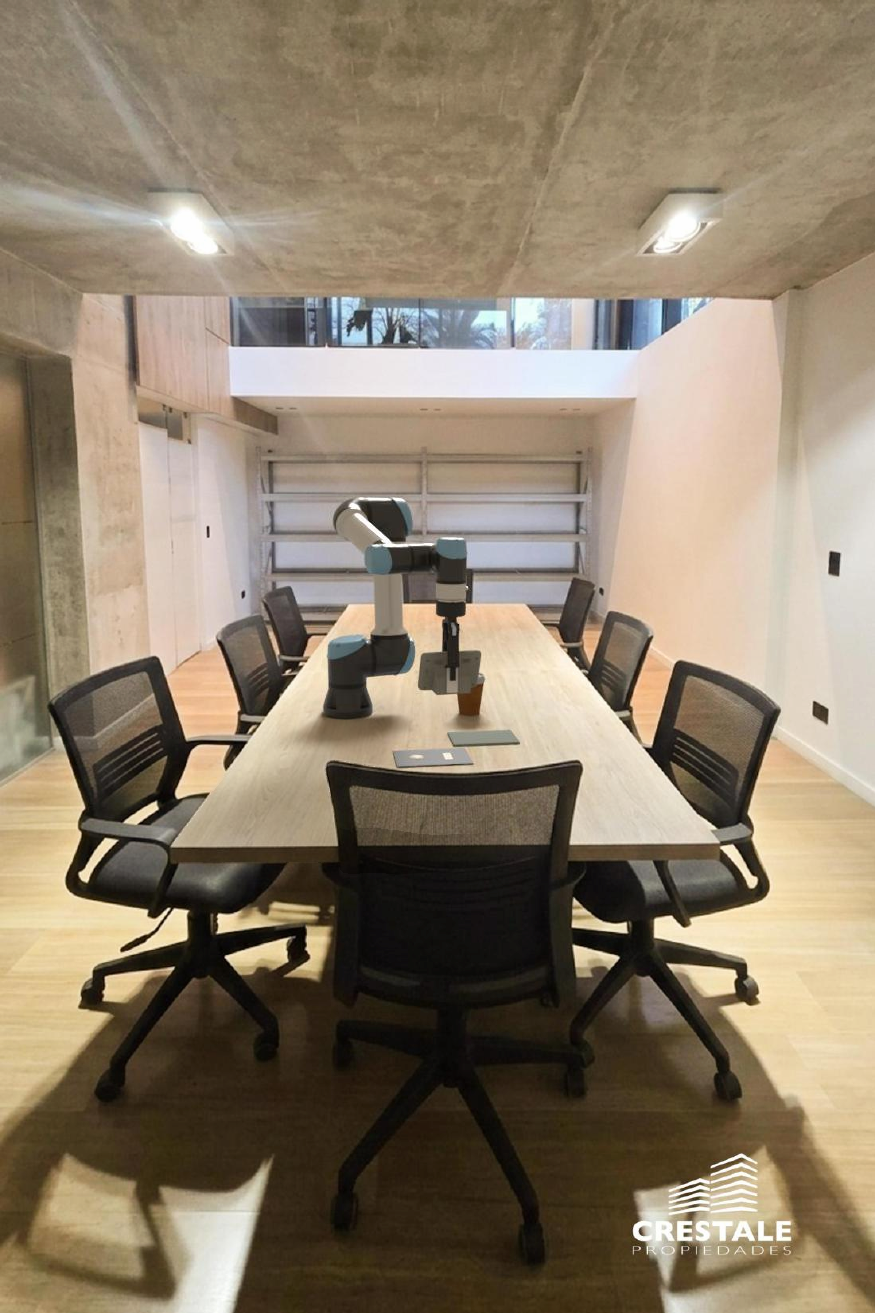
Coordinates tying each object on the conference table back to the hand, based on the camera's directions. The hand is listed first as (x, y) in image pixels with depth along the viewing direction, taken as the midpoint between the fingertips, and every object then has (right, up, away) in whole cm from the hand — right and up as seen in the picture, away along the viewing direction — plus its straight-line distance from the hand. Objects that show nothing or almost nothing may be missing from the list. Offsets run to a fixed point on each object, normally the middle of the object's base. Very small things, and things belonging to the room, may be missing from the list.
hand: (449, 688), depth 197 cm
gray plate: (-5, -18, -2) cm, 18 cm away
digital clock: (0, -1, +1) cm, 1 cm away
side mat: (+9, -14, +14) cm, 22 cm away
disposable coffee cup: (+7, -9, +39) cm, 41 cm away
